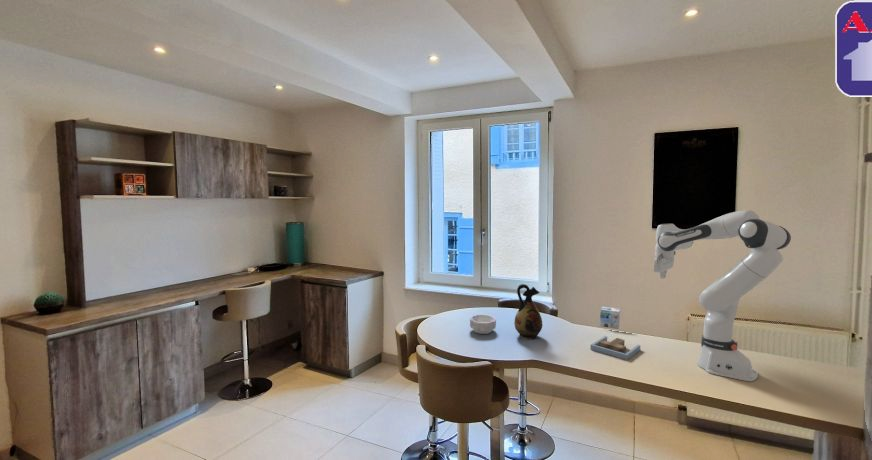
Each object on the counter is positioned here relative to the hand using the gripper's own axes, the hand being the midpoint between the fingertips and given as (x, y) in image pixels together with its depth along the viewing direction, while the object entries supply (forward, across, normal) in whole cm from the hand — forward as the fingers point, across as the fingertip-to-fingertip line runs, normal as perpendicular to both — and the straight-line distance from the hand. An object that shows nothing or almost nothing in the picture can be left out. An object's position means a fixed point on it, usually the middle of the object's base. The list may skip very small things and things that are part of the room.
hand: (662, 278), depth 219 cm
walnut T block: (+34, -32, +11) cm, 48 cm away
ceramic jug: (+34, -49, +54) cm, 81 cm away
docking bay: (+34, -32, +11) cm, 48 cm away
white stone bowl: (+34, -60, +77) cm, 103 cm away
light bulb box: (+34, 0, +28) cm, 44 cm away
